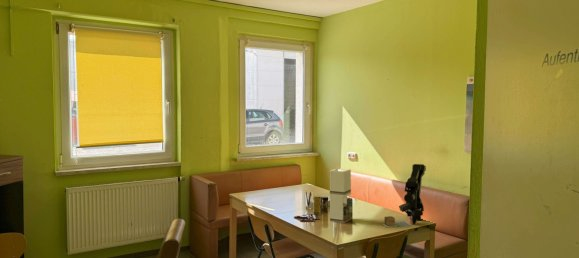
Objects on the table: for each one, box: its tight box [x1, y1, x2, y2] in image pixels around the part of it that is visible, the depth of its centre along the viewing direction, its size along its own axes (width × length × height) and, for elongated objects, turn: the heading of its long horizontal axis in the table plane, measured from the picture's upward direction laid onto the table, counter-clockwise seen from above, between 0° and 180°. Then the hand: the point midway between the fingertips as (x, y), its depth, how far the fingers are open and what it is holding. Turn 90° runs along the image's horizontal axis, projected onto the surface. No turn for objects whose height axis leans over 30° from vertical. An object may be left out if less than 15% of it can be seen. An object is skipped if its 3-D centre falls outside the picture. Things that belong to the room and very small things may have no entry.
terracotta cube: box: [406, 215, 418, 225], centre depth 284 cm, size 5×5×5 cm
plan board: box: [379, 221, 412, 229], centre depth 281 cm, size 11×17×1 cm, turn 101°
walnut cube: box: [383, 215, 396, 226], centre depth 280 cm, size 5×5×5 cm
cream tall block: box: [329, 168, 352, 224], centre depth 296 cm, size 11×11×35 cm
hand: (411, 223), depth 284 cm, fingers closed on terracotta cube, 5 cm apart
